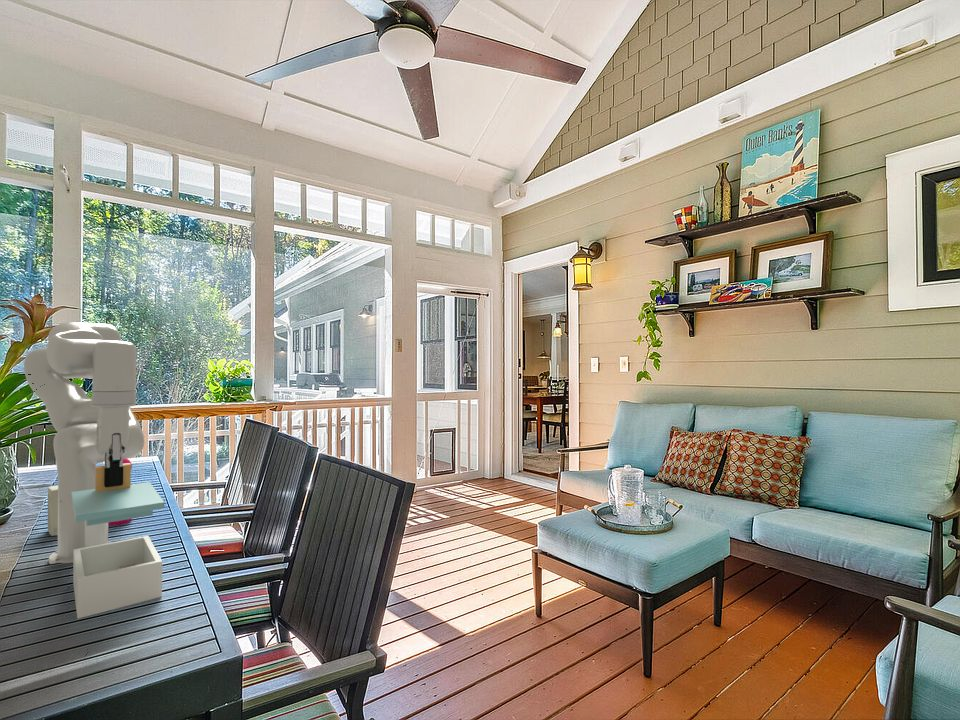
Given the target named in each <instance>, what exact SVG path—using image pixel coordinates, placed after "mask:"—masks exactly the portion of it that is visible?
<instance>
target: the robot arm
mask: <svg viewBox="0 0 960 720" xmlns="http://www.w3.org/2000/svg"><path fill="white" fill-rule="evenodd" d="M47 337H48V343H47V346H45V347H40V348H37V349H33V350H30V352H29V353H27V355H26V356H25V358H24V361H23V369H24V375H25V378H26V381H27V383H28V386H29V387H30V389H31V390H32V391H33V393H34V394H35V395H36V396H37V398H39V400H41V401H42V403H43V404H44V405H45V409H46V412H47V414H48V417H49V419H50V423H51V425H52V426H53V428H54V429H55V431H56V433H55V436H54V437H53V445H52V446H53V452H54V458H55V464H56V469H57V470H56V471H57V486H58V535H57V550H56V551H54V552H53V553H51V554H50V555H49V556H48V563H49V564H50V565H54V564H70V563H73V559H74V549H79V548H84V547H89V546H95V545H100V544H105V543H111V542H112V541H109V525H108V523H102V524H96V525H90V526H87V523H86V521H81V522H76V521H75V515H74V509H73V503H72V492H76V491H84V490H92V489H95V466H97V464H99V463H104V466H105V465H106V468H104V486H105V487H113V486H121V485H123V466H122V465H123V459H131V458H134V457H136V456H138V455H140V454H141V452H142V451H143V449H144V446H145V435H144V432H143V430H142V427H141V425H140V423H139V421H138V419H137V417H136V416H135V414H134V411H133V410H132V407H134V406H136V402H137V399H136V397H137V395H136V394H137V347H136V345H135V344H134V343H132V342H130V341H123V340H122V338H121V334H120V332H119V330H118V329H117V327H115V326H113V325H112V324H109V323H97V322H94V323H93V322H78V321H77V322H76V321H75V322H74V321H73V322H72V321H71V322H62V323H59V324H57V325H55V326H54V327H53V328H51V330H50V331H49V332H48V336H47ZM28 374H31V375H28ZM69 379H92V385H91V386H92V390H91V391H92V392H91V396H90V397H89V396H87V393H86V391H85V389H83V387H81V386H80V385H78V384H77V383H76V382H73V381H71V380H69ZM32 383H34V384H32ZM44 384H45V385H44ZM42 385H43V386H42ZM40 386H41V387H40ZM36 389H37V390H36ZM34 391H35V392H34Z"/></svg>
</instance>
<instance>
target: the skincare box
mask: <svg viewBox="0 0 960 720" xmlns="http://www.w3.org/2000/svg"><path fill="white" fill-rule="evenodd" d="M48 532H49V533H48ZM47 533H48V534H49V535H50V536H51V537H54V536H58V485H51V486H48V487H47Z"/></svg>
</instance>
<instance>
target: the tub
mask: <svg viewBox="0 0 960 720" xmlns="http://www.w3.org/2000/svg"><path fill="white" fill-rule="evenodd" d="M110 542H111V543H105V544H100V545H95V546H89V547H84V548H79V549H74V559H73V562H72V563H73V566H72V567H73V569H72V570H73V571H72V573H73V574H72V575H73V579H72V580H73V581H72V584H73V585H72V586H73V594H74V602H75V609H76V617H77V620H78V619H82V618H86V617H89V616H92V615H93V616H94V615H96V614H101V613H104V612H105V613H106V612H108V611H113V610H117V609H120V608H124V607H128V606H131V605H136V604H139V603H143V602H148V601H150V600H156V599H159V598H162V597H163V560H162V558H161V556H160V555H159V553H158V551H157V548H156V547H155V546H154V544H153V541H152V540H151V537H150V535H144V536H139V537H133V538H127V539H121V540H117V541H110ZM136 563H137V565H135V566H130V567H125V568H121V569H120V567H122V566H127V565H132V564H136Z"/></svg>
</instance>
